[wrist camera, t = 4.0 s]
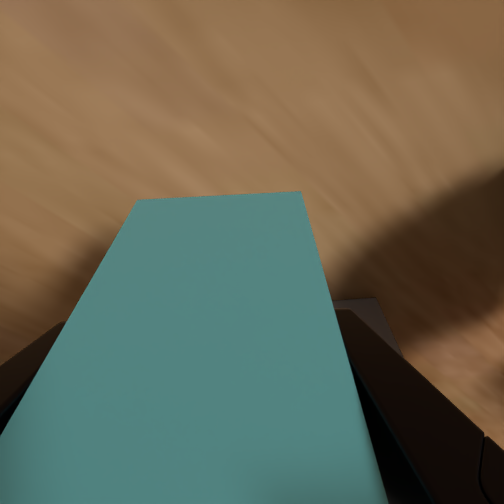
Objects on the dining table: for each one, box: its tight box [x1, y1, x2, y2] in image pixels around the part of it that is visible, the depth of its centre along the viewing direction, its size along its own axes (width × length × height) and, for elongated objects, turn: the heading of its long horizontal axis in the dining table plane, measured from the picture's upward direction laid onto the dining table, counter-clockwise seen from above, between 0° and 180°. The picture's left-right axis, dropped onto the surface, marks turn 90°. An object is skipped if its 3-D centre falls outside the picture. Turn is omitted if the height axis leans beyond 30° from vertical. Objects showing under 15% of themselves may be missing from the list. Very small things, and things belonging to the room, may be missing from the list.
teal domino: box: [0, 191, 389, 504], centre depth 8 cm, size 5×2×10 cm, turn 93°
